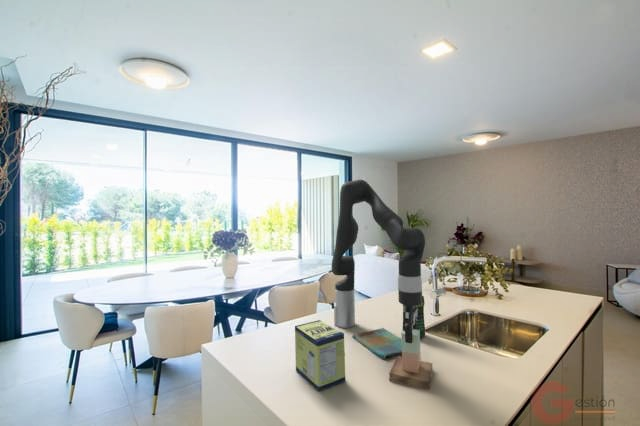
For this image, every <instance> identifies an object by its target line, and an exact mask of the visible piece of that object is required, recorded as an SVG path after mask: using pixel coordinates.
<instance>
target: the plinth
mask: <svg viewBox="0 0 640 426" xmlns="http://www.w3.org/2000/svg"><path fill="white" fill-rule="evenodd" d="M433 370H434V369H433V362H428V361H424V360H423V361H422V360H420V369H419V373H414V372H409V371H404V370H402V356H399V357H395V358H394V361H393V364H392V367H391V368H390V371H389V374H388V375H389V378H388V380H389V381H390V382H392V383H398V384H401V385H406V386H410V387H415V388H420V389H425V390H430V388H431V382H432V376H433Z"/></svg>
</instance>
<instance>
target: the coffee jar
mask: <svg viewBox="0 0 640 426" xmlns="http://www.w3.org/2000/svg"><path fill="white" fill-rule="evenodd" d="M425 303H426V302H425V297H424V295H422V304H420V305H417V316H418V317H417V321H416V330H420V339H422V338H425V336H426V327H425V326H426V325H425V324H426V323H425V314H424V313H425V312H424V308H425ZM405 307H406V306H405V305H404V304H402V311H403V310H404V309H405ZM407 327H409V324H407Z"/></svg>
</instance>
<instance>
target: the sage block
mask: <svg viewBox="0 0 640 426" xmlns="http://www.w3.org/2000/svg"><path fill="white" fill-rule="evenodd" d="M412 333H413V342H412V343H406V342H405V331H403V330H402V332H401V338H402V352H407V353H412V354H418V353H419V350H420V351H421V338H420V330H416V329H413V332H412Z"/></svg>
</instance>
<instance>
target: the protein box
mask: <svg viewBox="0 0 640 426" xmlns="http://www.w3.org/2000/svg"><path fill="white" fill-rule="evenodd" d="M294 340H295V341H294V342H295V343H294V345H295V347H294V348H295V349H294V351H295V371H296V372H297V373H298V374H299V375H300V376H301V377H302V378H304V380H305V381H307V383H308V384H310V385H311V386H312V387H313V388H314V389H315V390H317V392H322V391H324V390H327V389H329V388H331V387H334V386H337V385H339V384H341V383H344V382H346V359H345V356H346V355H345V353H346V352H345V332H342V331H341V330H339V329H337V328H335V327H334V326H332V325H329V324H327V323H326V322H324V321H322V320H320V319H318V320H314V321H310V322H306V323H301V324H297V325H295V326H294Z"/></svg>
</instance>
